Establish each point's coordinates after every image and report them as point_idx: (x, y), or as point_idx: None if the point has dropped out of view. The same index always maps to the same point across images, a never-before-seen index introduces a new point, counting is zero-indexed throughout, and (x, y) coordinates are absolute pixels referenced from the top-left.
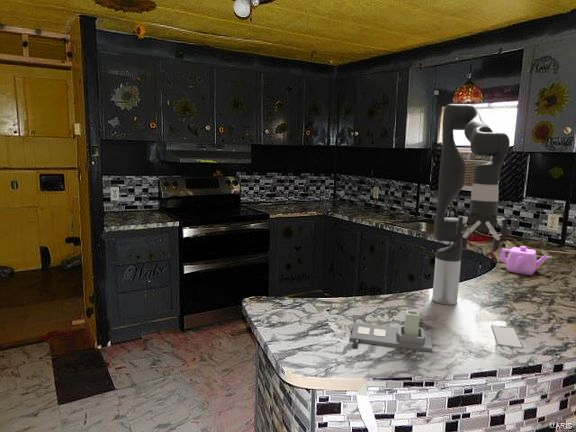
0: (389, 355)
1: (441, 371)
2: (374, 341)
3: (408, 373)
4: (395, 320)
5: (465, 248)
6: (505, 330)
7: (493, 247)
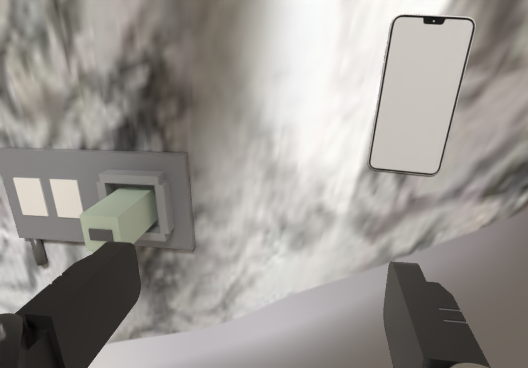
0: None
1: (213, 317)
2: (69, 240)
3: (156, 332)
4: (88, 76)
5: (128, 301)
6: (431, 52)
7: (391, 329)
